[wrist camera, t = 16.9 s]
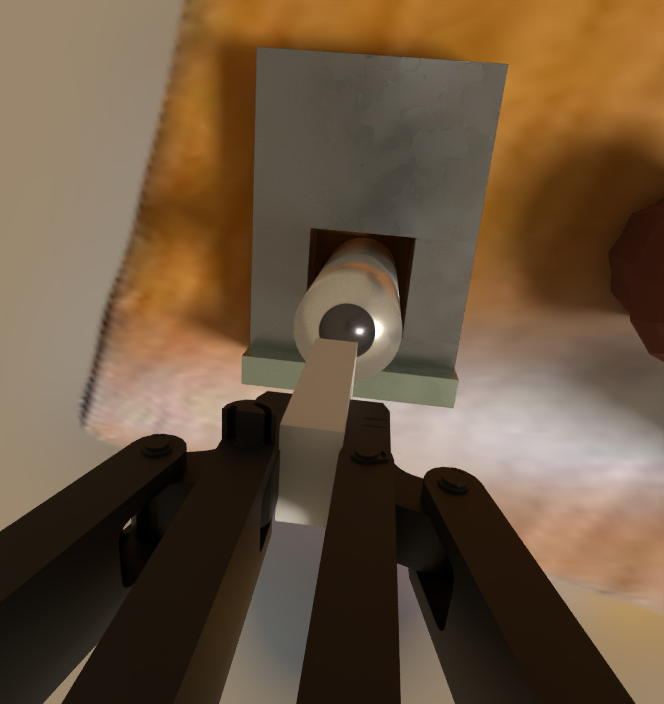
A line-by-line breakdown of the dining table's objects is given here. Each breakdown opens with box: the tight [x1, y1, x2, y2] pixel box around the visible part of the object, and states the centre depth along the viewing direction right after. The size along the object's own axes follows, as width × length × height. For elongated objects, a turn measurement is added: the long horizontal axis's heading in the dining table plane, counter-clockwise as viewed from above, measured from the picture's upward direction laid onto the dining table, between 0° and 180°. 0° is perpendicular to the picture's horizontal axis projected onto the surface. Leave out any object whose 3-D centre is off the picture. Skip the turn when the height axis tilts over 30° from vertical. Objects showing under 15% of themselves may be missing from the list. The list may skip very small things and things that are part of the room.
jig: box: [242, 47, 508, 408], centre depth 32 cm, size 20×14×6 cm
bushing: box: [293, 238, 402, 381], centre depth 29 cm, size 5×5×14 cm
